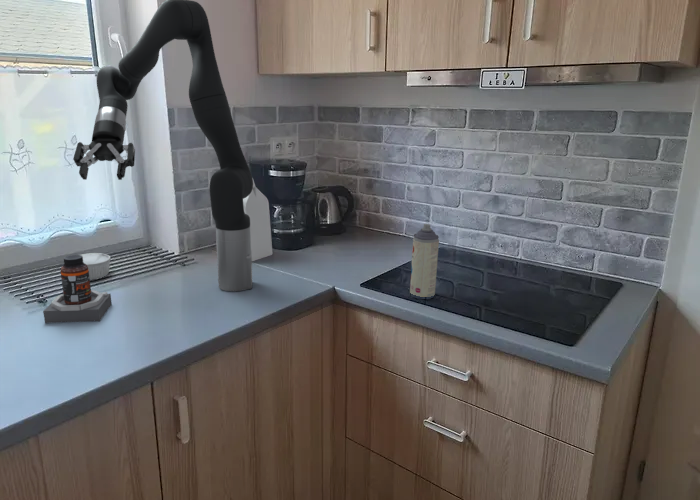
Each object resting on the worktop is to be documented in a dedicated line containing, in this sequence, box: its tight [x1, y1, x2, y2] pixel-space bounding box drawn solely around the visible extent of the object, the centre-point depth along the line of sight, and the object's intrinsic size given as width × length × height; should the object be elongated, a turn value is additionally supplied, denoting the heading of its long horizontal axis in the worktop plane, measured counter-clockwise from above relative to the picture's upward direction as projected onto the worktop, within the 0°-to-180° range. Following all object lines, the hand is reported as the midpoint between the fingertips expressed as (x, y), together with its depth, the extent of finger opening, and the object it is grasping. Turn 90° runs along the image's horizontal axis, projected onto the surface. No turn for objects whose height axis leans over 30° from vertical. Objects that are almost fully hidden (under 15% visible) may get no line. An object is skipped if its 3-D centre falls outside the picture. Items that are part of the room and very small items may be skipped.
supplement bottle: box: [60, 254, 92, 305], centre depth 126 cm, size 6×6×11 cm
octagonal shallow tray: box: [42, 289, 113, 324], centre depth 128 cm, size 12×10×4 cm
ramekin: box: [80, 252, 111, 281], centre depth 153 cm, size 11×11×5 cm
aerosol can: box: [409, 223, 440, 297], centre depth 142 cm, size 7×7×20 cm
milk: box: [243, 177, 273, 262], centre depth 172 cm, size 12×12×26 cm
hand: (101, 177), depth 134 cm, fingers open, 8 cm apart
